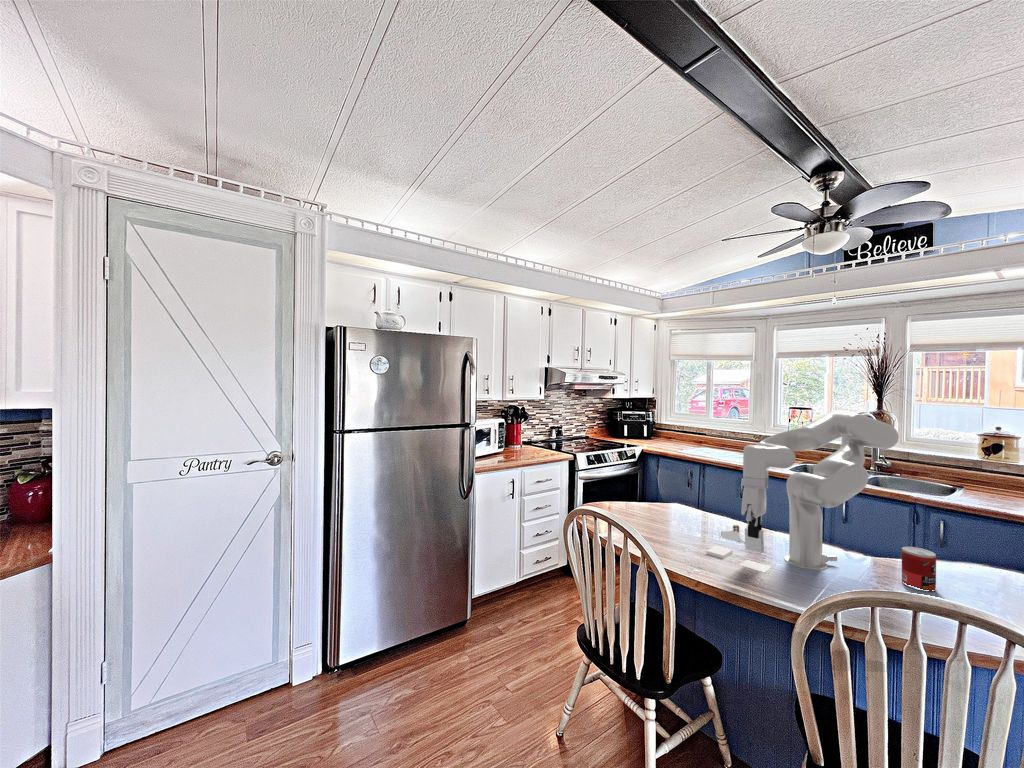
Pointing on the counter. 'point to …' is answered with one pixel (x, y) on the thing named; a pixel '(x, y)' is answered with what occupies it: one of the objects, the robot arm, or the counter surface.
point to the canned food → (919, 568)
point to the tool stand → (755, 566)
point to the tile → (719, 552)
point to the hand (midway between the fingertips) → (754, 536)
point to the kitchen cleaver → (732, 534)
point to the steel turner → (754, 542)
